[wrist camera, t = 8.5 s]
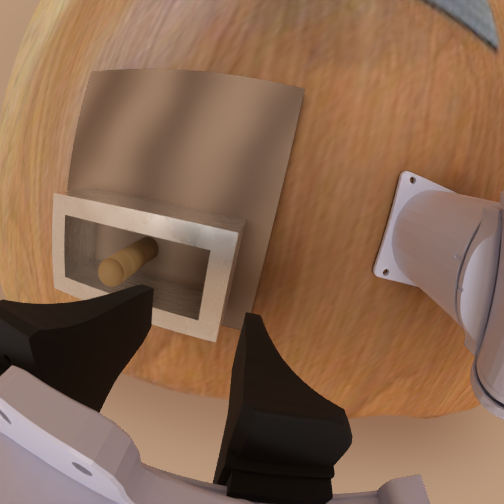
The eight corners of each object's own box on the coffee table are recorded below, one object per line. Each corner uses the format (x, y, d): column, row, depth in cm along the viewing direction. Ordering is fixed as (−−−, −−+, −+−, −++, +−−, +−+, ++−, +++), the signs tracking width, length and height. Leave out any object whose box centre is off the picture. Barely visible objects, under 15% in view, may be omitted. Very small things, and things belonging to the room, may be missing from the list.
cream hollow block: (245, 219, 18) (238, 232, 14) (226, 310, 19) (215, 342, 16) (88, 187, 18) (54, 192, 14) (84, 269, 19) (54, 287, 16)
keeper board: (302, 95, 16) (319, 52, 9) (247, 321, 21) (237, 384, 14) (101, 76, 16) (44, 51, 9) (75, 270, 21) (21, 303, 14)
